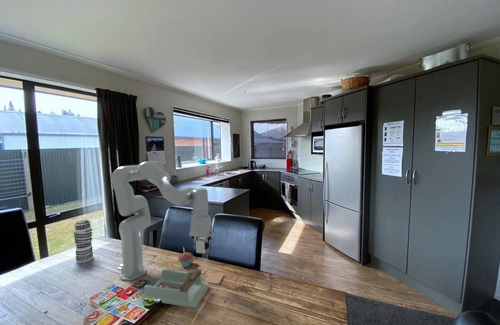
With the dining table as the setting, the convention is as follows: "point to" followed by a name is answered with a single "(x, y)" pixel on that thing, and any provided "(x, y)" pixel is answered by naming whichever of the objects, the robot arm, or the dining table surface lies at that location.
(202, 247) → the cream block
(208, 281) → the terracotta coaster
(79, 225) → the stacked grey column
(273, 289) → the dining table surface
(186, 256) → the cupcake
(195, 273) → the latch bar
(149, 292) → the puzzle board
